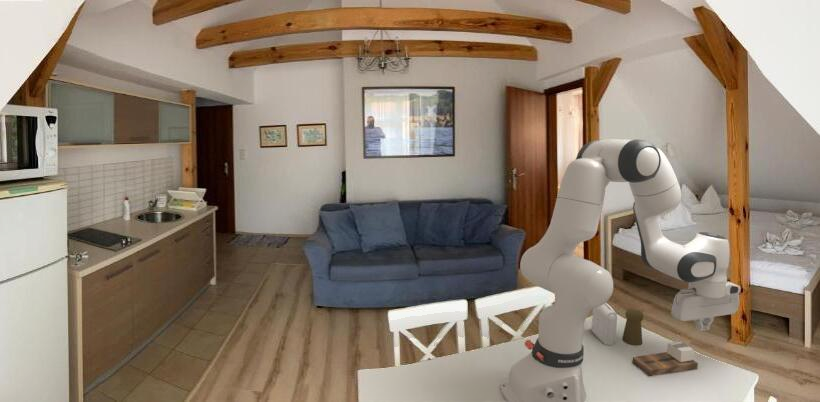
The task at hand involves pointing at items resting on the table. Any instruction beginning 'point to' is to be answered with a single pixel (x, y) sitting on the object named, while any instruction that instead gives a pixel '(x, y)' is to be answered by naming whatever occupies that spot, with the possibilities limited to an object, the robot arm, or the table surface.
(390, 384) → the table surface
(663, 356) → the slider board
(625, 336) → the cork
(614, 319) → the photo printer
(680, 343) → the fader tab
